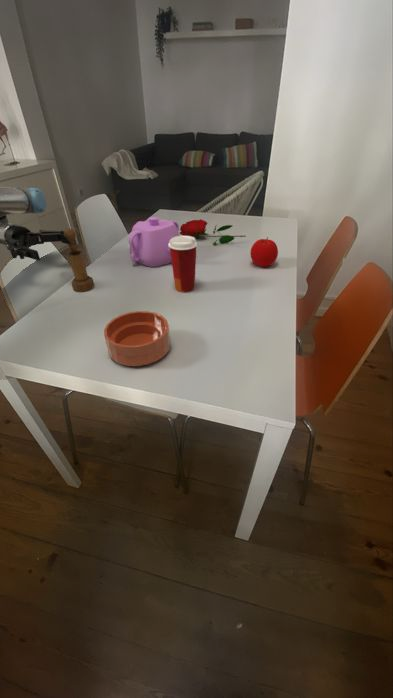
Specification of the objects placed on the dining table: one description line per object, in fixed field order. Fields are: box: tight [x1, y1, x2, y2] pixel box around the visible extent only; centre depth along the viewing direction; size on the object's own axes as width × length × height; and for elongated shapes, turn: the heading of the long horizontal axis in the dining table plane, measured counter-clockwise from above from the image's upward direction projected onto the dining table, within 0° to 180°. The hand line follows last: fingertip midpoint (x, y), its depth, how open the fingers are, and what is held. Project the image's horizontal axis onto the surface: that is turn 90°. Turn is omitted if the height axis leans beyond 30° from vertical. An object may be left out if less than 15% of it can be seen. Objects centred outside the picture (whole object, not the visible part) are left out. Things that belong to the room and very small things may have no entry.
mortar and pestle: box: [63, 228, 95, 293], centre depth 95 cm, size 7×6×18 cm
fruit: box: [249, 236, 279, 268], centre depth 108 cm, size 9×9×10 cm
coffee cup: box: [168, 235, 198, 293], centre depth 94 cm, size 8×8×15 cm
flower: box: [179, 218, 247, 246], centre depth 128 cm, size 9×9×30 cm
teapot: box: [128, 216, 181, 268], centre depth 114 cm, size 19×21×14 cm
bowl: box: [103, 310, 171, 367], centre depth 73 cm, size 14×14×6 cm
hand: (57, 248), depth 97 cm, fingers open, 13 cm apart
